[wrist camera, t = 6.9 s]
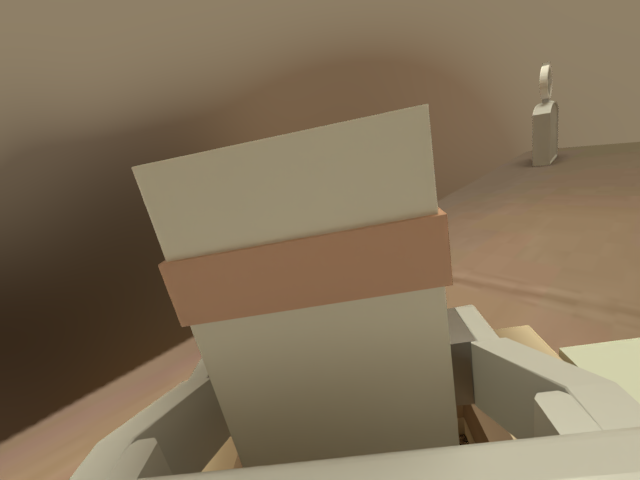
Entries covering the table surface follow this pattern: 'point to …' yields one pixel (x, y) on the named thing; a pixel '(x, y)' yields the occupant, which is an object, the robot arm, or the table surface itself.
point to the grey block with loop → (545, 122)
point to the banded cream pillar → (315, 286)
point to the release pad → (609, 362)
